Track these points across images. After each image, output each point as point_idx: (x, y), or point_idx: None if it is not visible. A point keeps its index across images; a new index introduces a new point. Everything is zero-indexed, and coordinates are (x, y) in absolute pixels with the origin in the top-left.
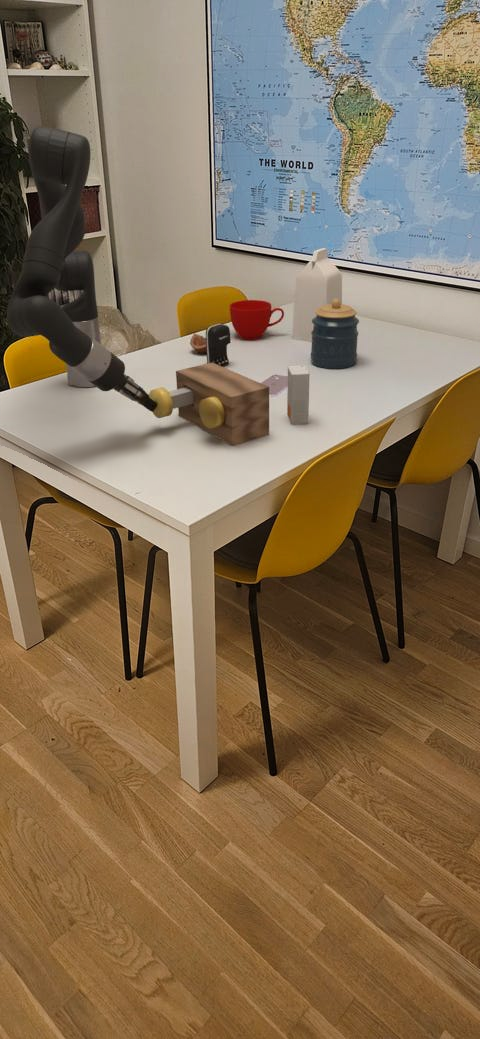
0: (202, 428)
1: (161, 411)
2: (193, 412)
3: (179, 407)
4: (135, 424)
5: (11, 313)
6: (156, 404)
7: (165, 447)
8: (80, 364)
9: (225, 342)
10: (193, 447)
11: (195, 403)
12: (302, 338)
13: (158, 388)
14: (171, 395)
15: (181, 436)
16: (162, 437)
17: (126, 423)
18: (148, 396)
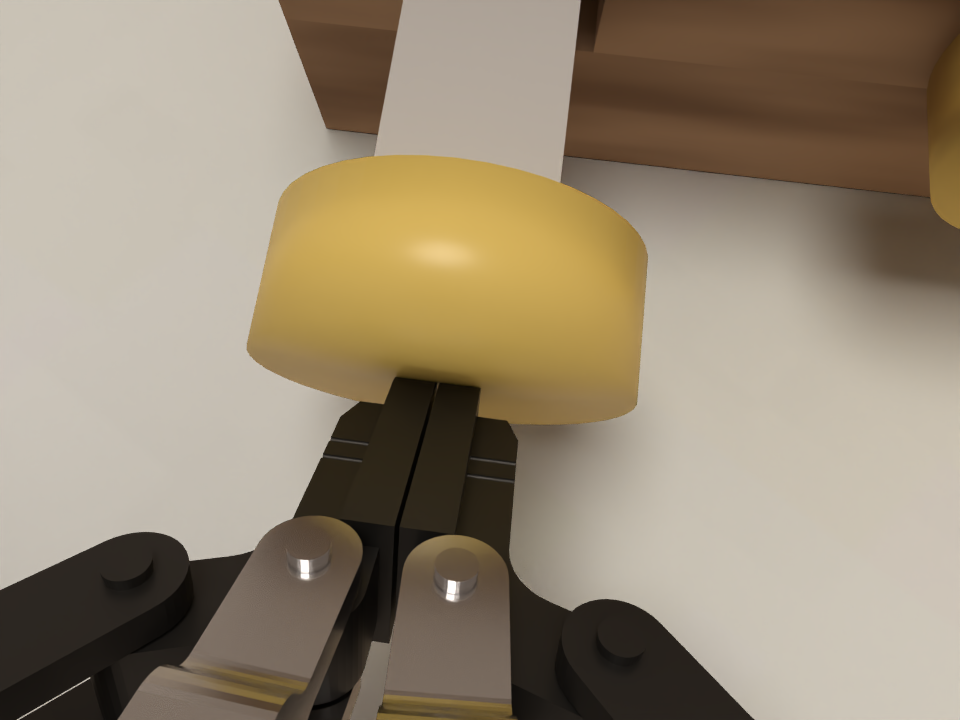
0: (679, 164)
1: (567, 413)
2: None
3: (329, 80)
4: (177, 485)
5: None
6: (479, 402)
7: (790, 617)
8: None
9: None
10: (940, 443)
11: (631, 22)
12: None
13: (393, 229)
14: (533, 161)
15: (683, 369)
16: (590, 496)
17: (92, 530)
18: (674, 657)
